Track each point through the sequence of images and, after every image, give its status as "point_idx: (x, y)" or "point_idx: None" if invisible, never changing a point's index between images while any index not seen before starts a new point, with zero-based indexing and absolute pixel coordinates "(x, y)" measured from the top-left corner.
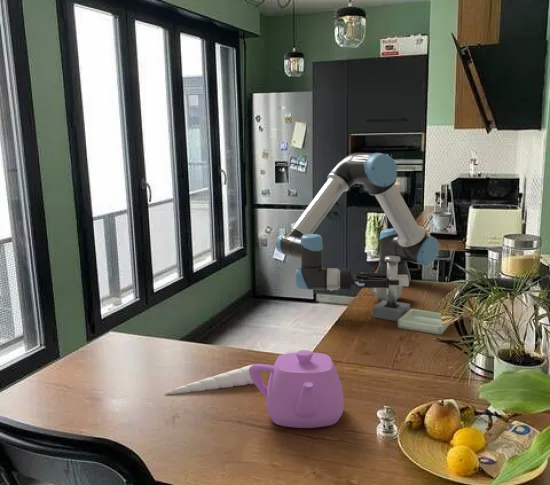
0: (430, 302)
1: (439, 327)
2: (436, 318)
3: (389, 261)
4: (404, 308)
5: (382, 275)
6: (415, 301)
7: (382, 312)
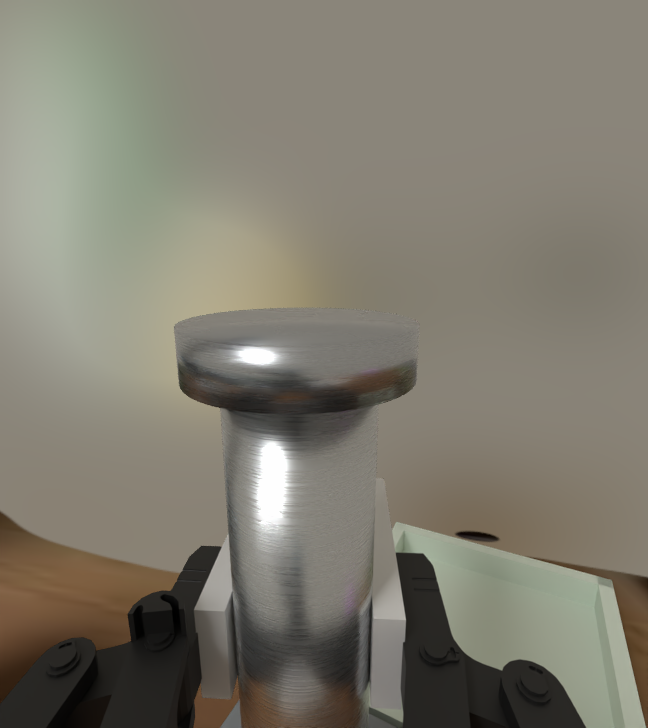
0: (98, 577)
1: (612, 587)
2: None
3: (411, 378)
4: (381, 723)
5: (170, 712)
6: (33, 642)
7: None
